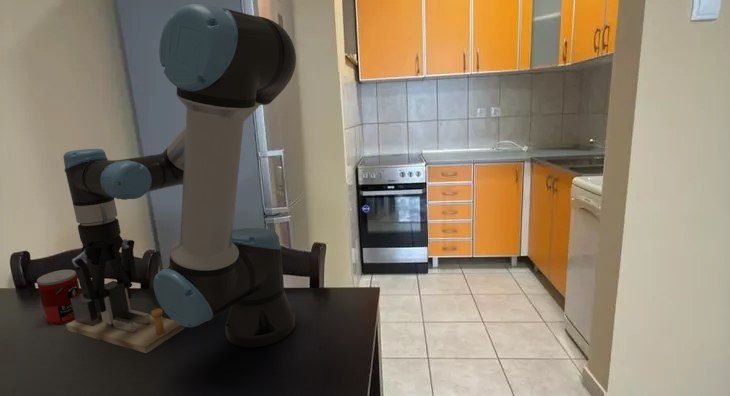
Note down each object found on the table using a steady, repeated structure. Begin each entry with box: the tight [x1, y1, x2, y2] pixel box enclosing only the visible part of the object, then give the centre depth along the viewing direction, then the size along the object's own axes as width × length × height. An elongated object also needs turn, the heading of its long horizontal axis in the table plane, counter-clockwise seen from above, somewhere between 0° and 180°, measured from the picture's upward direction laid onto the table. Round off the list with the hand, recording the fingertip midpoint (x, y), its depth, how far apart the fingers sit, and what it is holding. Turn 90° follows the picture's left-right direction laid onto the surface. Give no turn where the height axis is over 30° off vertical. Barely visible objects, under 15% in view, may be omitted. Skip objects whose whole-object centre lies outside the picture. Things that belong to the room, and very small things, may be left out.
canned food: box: [36, 269, 82, 325], centre depth 99 cm, size 8×8×11 cm
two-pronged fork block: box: [97, 280, 151, 332], centre depth 93 cm, size 19×5×9 cm, turn 67°
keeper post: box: [150, 307, 164, 335], centre depth 88 cm, size 2×2×5 cm
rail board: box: [65, 312, 185, 354], centre depth 93 cm, size 26×10×2 cm, turn 67°
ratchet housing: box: [70, 293, 99, 326], centre depth 96 cm, size 6×7×6 cm
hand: (117, 317), depth 93 cm, fingers closed on two-pronged fork block, 4 cm apart
